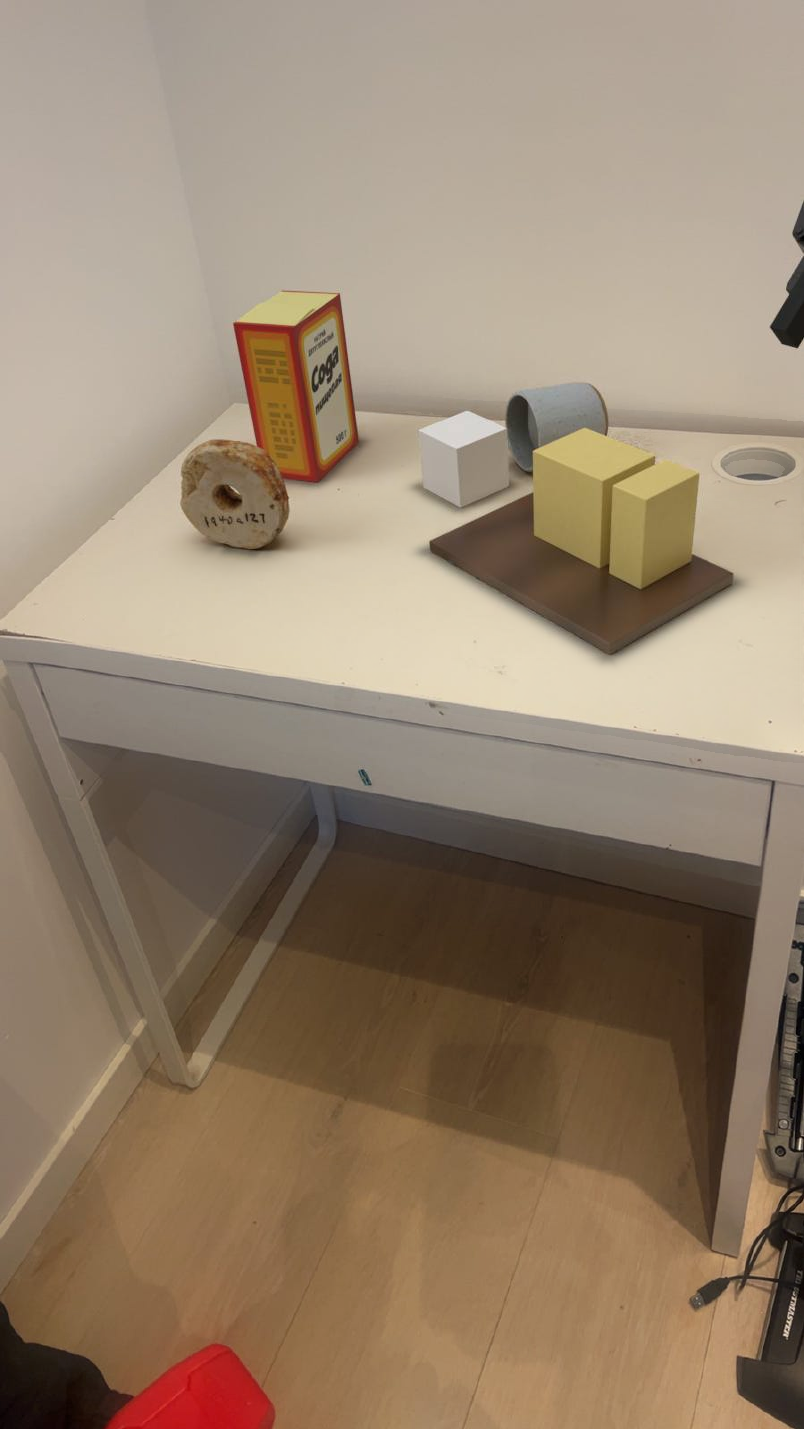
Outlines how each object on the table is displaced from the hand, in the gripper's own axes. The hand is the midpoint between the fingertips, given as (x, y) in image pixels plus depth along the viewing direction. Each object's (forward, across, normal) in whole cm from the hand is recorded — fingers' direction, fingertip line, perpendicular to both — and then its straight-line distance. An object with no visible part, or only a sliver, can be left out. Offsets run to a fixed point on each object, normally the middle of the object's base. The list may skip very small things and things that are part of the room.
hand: (783, 337), depth 82 cm
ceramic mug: (+14, +23, -8) cm, 28 cm away
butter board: (+23, +6, +1) cm, 24 cm away
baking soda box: (+26, +41, +4) cm, 49 cm away
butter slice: (+20, 0, -1) cm, 20 cm away
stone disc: (+36, +31, +13) cm, 49 cm away
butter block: (+20, +7, -1) cm, 21 cm away
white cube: (+21, +24, -2) cm, 32 cm away
